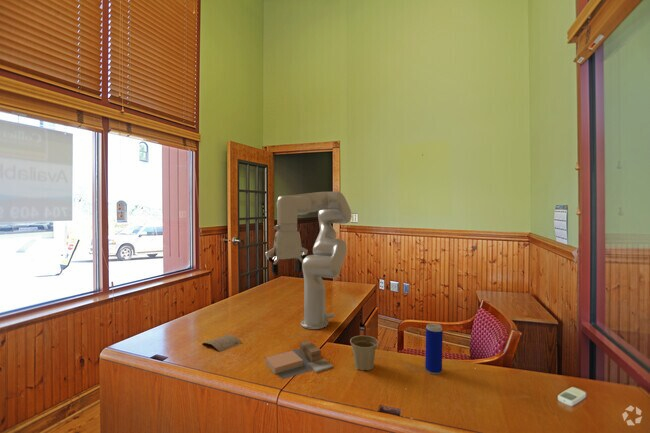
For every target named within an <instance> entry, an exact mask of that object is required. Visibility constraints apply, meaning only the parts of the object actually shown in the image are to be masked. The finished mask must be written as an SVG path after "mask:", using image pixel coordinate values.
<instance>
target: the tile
mask: <svg viewBox="0 0 650 433" xmlns="http://www.w3.org/2000/svg"><path fill="white" fill-rule="evenodd" d="M288 351H289V352H288ZM288 351H284V352H285V353H284V352H280V353H281V354H280V353H277V355H276V354H273V355H274V356H272V355H269V356H270V357H268V356H266V359H265V364H266V366H267V368H269V369H270V370H271V372H272V373H273V374H274V375H278V373H280V372H284V371H287V370H291V369H294V368H298V367H301V366H303V360H302V359H301V358H300V357H299V356H298V355H297V354H296V353H295V352H293V351H292V350H288Z"/></svg>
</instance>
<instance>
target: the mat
mask: <svg viewBox="0 0 650 433" xmlns="http://www.w3.org/2000/svg"><path fill="white" fill-rule="evenodd" d="M289 351H290V350H288V351H287V352H289ZM291 351H293V352H295V353H296V354H297V355H298V356H299V357H300V358H301V359H302V360H303V366H301V367H298V368H294V369H291V370H287V371H284V372H280V373H277V375H279V377H280V378H281V379H282V380H284V379H288V378H290V377H291V378H292V377H294V376H298V375H301V374H302V375H303V374H304V373H308V372H311V371H314V370H313V369H312V368H311V367H310V366H308V363H310V362H309V361H308V360H307V359H306V358H305V357H304V356H303V355H301V354H300V347H299V348H295V349H293V350H291ZM285 352H286V351H284V352H283V353H285ZM281 353H282V352H280V353H279V354H281ZM277 354H278V353H277ZM277 354H272V355H268V356H266V357H270V356H274V355H277ZM266 357H264V359H265V360H266Z"/></svg>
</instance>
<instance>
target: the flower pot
mask: <svg viewBox="0 0 650 433" xmlns="http://www.w3.org/2000/svg"><path fill="white" fill-rule="evenodd" d="M349 343H350V345H351V349H352V352H353V353H352V354H353V361H354V366H355V367H356V369H358V370H359V371H370V370H372V369H373V368H374V364H375V355H376V349H377V347H378V345H379V340H378V339H377V338H375V337H374V336H370V335H356V336H353V337H351V338H350V340H349Z"/></svg>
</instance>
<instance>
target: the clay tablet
mask: <svg viewBox="0 0 650 433" xmlns="http://www.w3.org/2000/svg"><path fill="white" fill-rule="evenodd" d="M204 344H208V345H211V346H213V347H214V348H215V349H216V350H217V351H218V352H219V353H220V352H221V353H222V352H225V351H227V350H229V349H232V348H234V347H237V346H240V345H242V344H243V341H241V339H239V338H238V337H237V336H234V335H232V334H230V333H229V334H225V335H223V336H219V337H217V338H214V339H211V340H209V341H205V342H203V343H202V345H204Z"/></svg>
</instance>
